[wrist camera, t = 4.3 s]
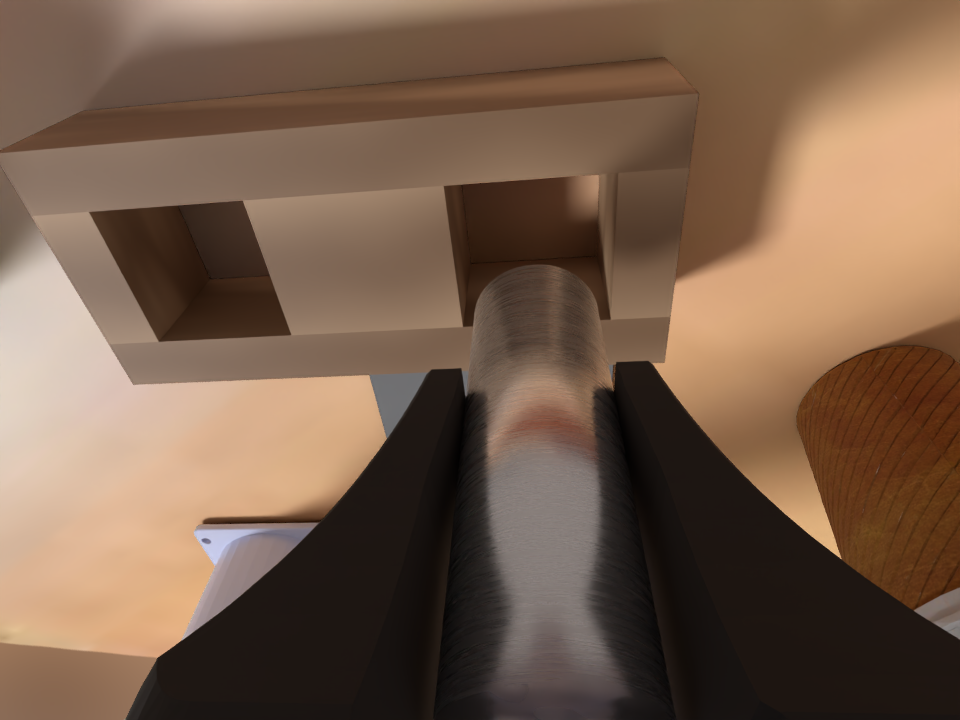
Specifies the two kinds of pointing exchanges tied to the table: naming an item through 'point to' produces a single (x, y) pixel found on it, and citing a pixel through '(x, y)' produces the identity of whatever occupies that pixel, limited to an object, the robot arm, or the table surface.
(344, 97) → the socket block
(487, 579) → the peg
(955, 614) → the disposable coffee cup
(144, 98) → the table surface
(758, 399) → the table surface
